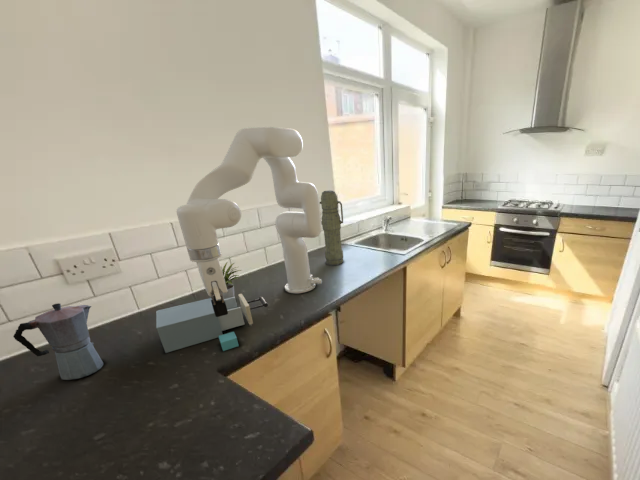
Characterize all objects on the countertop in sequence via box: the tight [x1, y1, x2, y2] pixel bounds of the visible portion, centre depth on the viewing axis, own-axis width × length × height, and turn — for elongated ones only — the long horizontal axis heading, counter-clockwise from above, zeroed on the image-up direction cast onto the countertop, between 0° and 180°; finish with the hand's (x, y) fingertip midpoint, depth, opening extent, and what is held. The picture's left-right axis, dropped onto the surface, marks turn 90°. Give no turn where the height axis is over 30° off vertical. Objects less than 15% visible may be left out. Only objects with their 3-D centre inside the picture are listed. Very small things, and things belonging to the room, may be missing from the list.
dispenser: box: [155, 297, 224, 354], centre depth 100 cm, size 16×13×9 cm
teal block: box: [218, 331, 240, 352], centre depth 96 cm, size 4×4×3 cm
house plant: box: [221, 261, 242, 299], centre depth 119 cm, size 14×14×16 cm
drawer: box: [218, 293, 269, 332], centre depth 107 cm, size 21×11×7 cm, turn 123°
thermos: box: [319, 190, 344, 266], centre depth 155 cm, size 9×12×35 cm
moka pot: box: [13, 302, 104, 381], centre depth 82 cm, size 10×15×20 cm, turn 161°
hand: (221, 312), depth 91 cm, fingers closed
